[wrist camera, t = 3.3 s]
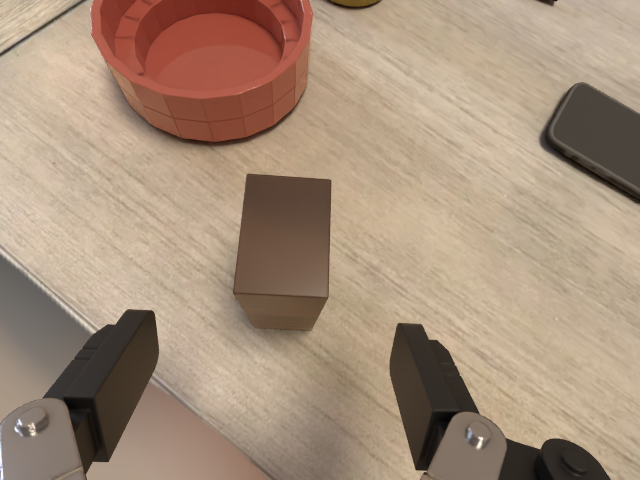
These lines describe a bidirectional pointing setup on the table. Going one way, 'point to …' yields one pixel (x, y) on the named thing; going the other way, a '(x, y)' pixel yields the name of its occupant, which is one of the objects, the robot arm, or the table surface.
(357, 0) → the brass weight
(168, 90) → the bowl
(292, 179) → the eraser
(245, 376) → the table surface
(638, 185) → the smartphone
